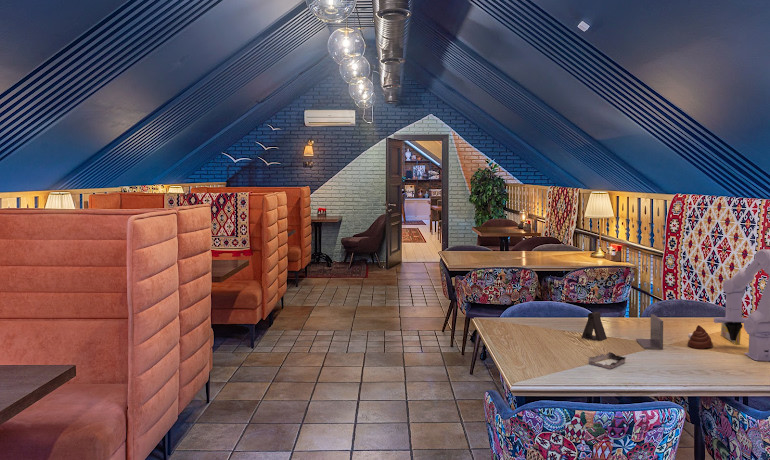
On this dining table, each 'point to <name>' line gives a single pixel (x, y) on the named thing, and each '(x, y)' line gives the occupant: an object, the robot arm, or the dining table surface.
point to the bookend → (654, 335)
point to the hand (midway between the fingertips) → (733, 340)
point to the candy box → (726, 335)
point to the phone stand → (594, 327)
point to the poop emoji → (699, 339)
